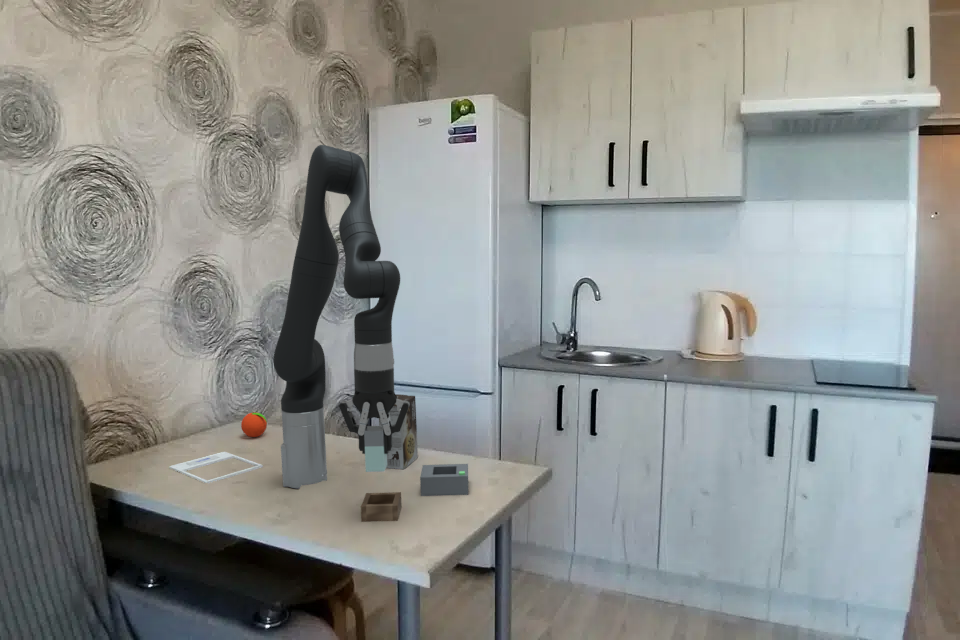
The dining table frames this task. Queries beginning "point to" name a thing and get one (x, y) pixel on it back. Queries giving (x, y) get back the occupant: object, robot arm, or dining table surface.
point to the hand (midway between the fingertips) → (375, 452)
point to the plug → (375, 449)
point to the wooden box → (381, 507)
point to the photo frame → (210, 460)
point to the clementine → (254, 424)
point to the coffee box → (403, 436)
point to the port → (444, 479)
